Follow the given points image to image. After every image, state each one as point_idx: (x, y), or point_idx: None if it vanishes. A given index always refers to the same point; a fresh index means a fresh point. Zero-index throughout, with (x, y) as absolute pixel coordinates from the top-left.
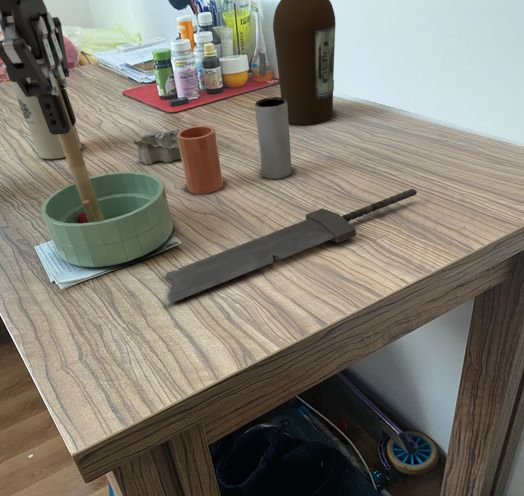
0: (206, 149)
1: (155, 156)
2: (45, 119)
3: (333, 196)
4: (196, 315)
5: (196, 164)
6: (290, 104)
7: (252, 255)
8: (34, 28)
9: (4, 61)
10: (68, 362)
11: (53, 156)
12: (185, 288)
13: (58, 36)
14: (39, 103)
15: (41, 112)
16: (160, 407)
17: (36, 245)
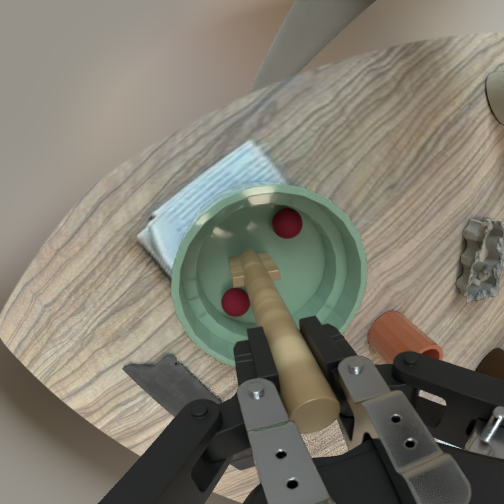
0: None
1: (470, 243)
2: (250, 346)
3: (322, 441)
4: (116, 384)
5: (386, 354)
6: (492, 371)
7: None
8: None
9: (108, 498)
10: (39, 297)
11: (488, 93)
12: (142, 378)
13: (463, 448)
14: (257, 370)
15: None
16: (31, 371)
17: (254, 140)
